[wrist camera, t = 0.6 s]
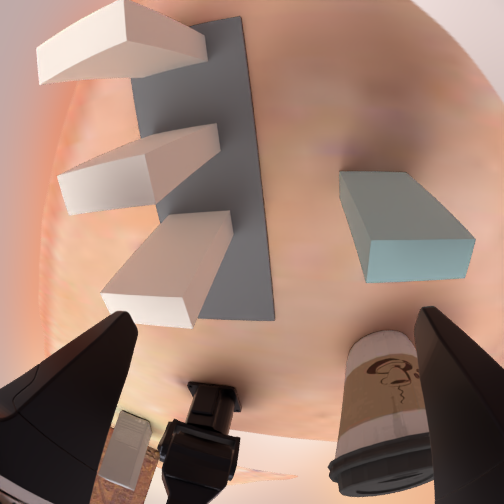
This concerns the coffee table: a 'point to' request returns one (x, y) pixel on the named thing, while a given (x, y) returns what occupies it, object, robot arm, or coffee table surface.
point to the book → (118, 497)
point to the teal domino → (402, 229)
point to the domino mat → (217, 164)
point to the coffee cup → (382, 420)
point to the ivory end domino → (119, 46)
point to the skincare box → (126, 451)
